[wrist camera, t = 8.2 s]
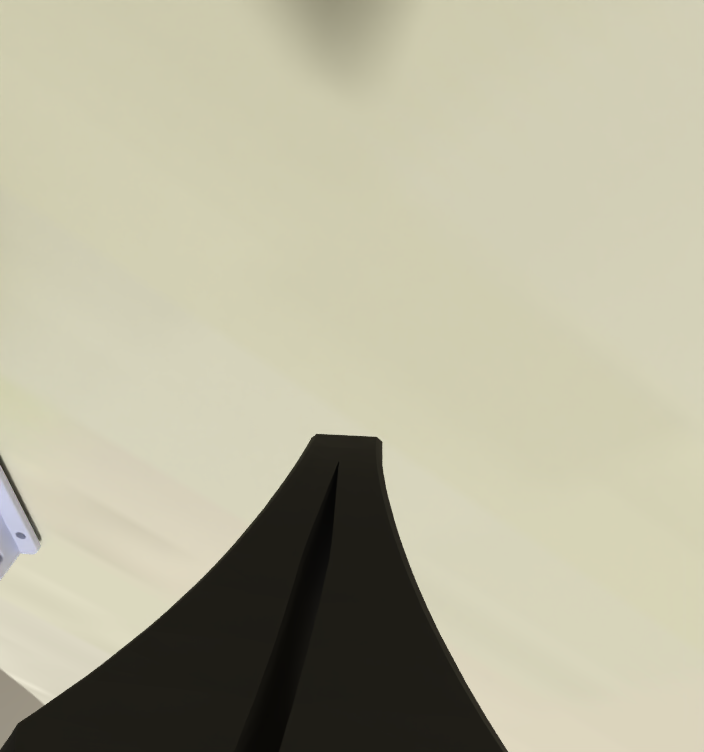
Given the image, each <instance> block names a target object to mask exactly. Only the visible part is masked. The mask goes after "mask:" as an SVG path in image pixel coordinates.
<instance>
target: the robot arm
mask: <svg viewBox="0 0 704 752" xmlns="http://www.w3.org/2000/svg"><path fill="white" fill-rule="evenodd" d="M40 547H41V545H40V542H39V540H38V538H37V536H36V534H35V532H34V530H33V528H32V526H31V524H30V522H29V520H28V518H27V517H26V515H25V513H24V511H23V509H22V507H21V505H20V503H19V501H18V499H17V497H16V495H15V493H14V491H13V489H12V487H11V485H10V483H9V481H8V479H7V477H6V475H5V473H4V471H3V469H2V467H1V465H0V581H1V579H2V578H3V576H4V575H5V574H6V572H7V571H8V570H9V568H10V567H11V565H12V564H13V563H14V561H15V560H16V559H17V557H18V556H19V554H20V553H22V554H35V553H37V552H38V550H39V549H40ZM0 752H508V751H507V749H506V748H505V746H504V745H503V743H502V742H501V740H500V738H499V737H498V735H497V734H496V732H495V730H494V729H493V727H492V726H491V724H490V722H489V721H488V719H487V718H486V716H485V714H484V713H483V711H482V709H481V708H480V706H479V704H478V702H477V701H476V699H475V697H474V696H473V694H472V692H471V691H470V689H469V687H468V685H467V684H466V682H465V680H464V678H463V676H462V674H461V673H460V671H459V669H458V667H457V665H456V663H455V661H454V659H453V658H452V656H451V654H450V652H449V650H448V648H447V646H446V644H445V643H444V641H443V639H442V637H441V635H440V633H439V631H438V629H437V627H436V625H435V623H434V621H433V618H432V616H431V614H430V612H429V610H428V608H427V606H426V603H425V601H424V599H423V597H422V594H421V592H420V590H419V587H418V585H417V583H416V580H415V578H414V575H413V573H412V570H411V568H410V565H409V562H408V560H407V557H406V554H405V551H404V548H403V546H402V543H401V540H400V537H399V534H398V531H397V527H396V524H395V521H394V517H393V513H392V510H391V506H390V502H389V499H388V494H387V490H386V485H385V480H384V474H383V467H382V441H381V440H380V439H378V438H377V437H367V436H347V435H327V434H316V435H315V436H314V437H312V438H311V440H310V442H309V443H308V445H307V447H306V449H305V450H304V452H303V453H302V455H301V457H300V458H299V460H298V461H297V463H296V464H295V466H294V467H293V469H292V470H291V472H290V473H289V475H288V476H287V478H286V479H285V481H284V482H283V483H282V485H281V486H280V487H279V489H278V490H277V491H276V493H275V494H274V495H273V497H272V498H271V499H270V501H269V502H268V504H267V505H266V506H265V508H264V509H263V510H262V511H261V513H260V514H259V515H258V516H257V518H256V519H255V520H254V521H253V522H252V524H251V525H250V526H249V527H248V528H247V530H246V531H245V532H244V533H243V534H242V535H241V537H240V538H239V539H238V540H237V541H236V543H235V544H234V545H233V546H232V547H231V548H230V549H229V550H228V552H227V553H226V554H225V555H224V556H223V557H222V558H221V559H220V560H219V561H218V562H217V563H216V564H215V566H214V567H213V568H212V569H211V570H210V571H209V572H208V573H207V574H206V575H205V576H204V577H203V578H202V579H201V580H200V581H199V582H198V583H197V584H196V585H195V586H194V587H192V588H191V589H190V590H189V591H188V592H187V593H186V594H185V595H184V596H183V597H182V598H181V599H180V600H179V601H177V602H176V603H175V604H174V605H173V606H172V607H171V608H170V609H169V610H168V611H167V612H165V613H164V614H163V615H162V616H161V617H160V618H159V619H158V620H156V621H155V622H154V623H153V624H152V625H151V626H149V627H148V628H147V629H146V630H145V631H143V632H142V633H141V634H139V635H138V636H137V637H136V638H134V639H133V640H132V641H131V642H129V643H128V644H127V645H126V646H124V647H123V648H122V649H121V650H119V651H118V652H117V653H116V654H114V655H113V656H112V657H111V658H109V659H108V660H107V661H106V662H104V663H103V664H102V665H101V666H99V667H98V668H97V669H95V670H94V671H93V672H91V673H90V674H89V675H87V676H86V677H84V678H83V679H82V680H80V681H79V682H77V683H76V684H74V685H73V686H72V687H70V688H69V689H67V690H66V691H64V692H63V693H62V694H60V695H59V696H57V697H56V698H54V699H53V700H51V701H50V702H49V703H47V704H46V705H44V706H43V707H41V708H40V709H39V710H37V711H36V712H35V713H33V714H31V715H30V716H28V717H27V718H25V719H24V720H22V721H21V722H20V723H18V724H17V726H16V727H15V729H14V731H13V732H12V734H11V735H10V737H9V738H8V740H7V741H6V742H5V744H4V745H3V747H2V748H1V750H0Z"/></svg>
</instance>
